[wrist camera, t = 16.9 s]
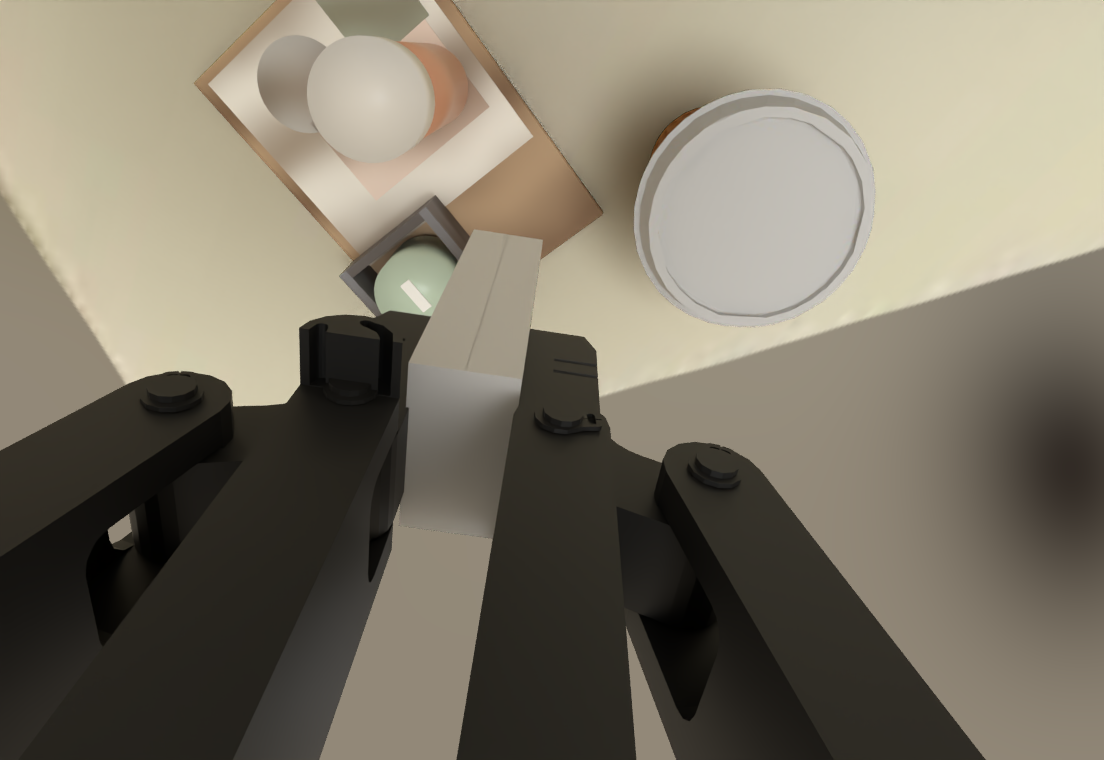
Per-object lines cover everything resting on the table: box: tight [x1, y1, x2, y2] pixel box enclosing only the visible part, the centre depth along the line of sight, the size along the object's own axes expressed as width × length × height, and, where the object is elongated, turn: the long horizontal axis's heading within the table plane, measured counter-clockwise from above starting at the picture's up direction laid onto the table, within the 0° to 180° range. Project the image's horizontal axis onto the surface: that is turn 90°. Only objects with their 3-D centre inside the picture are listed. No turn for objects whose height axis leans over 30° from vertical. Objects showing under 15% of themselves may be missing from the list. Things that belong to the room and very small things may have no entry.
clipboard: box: [194, 0, 603, 317], centre depth 36 cm, size 18×13×4 cm
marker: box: [307, 35, 468, 163], centre depth 29 cm, size 4×4×13 cm
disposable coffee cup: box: [634, 89, 876, 327], centre depth 32 cm, size 10×10×12 cm
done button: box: [374, 236, 458, 316], centre depth 38 cm, size 4×4×4 cm
